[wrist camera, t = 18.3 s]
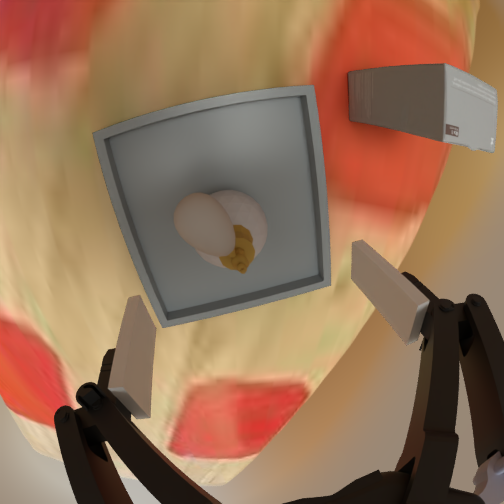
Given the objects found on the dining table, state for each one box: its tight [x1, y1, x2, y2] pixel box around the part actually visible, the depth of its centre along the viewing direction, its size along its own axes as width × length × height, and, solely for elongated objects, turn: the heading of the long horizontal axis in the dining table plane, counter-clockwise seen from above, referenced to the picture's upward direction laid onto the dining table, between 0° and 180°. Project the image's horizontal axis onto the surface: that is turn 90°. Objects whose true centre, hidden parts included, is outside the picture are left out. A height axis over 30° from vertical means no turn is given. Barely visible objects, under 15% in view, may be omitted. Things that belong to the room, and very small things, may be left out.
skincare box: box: [348, 63, 497, 153], centre depth 20 cm, size 8×7×16 cm
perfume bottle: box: [174, 190, 268, 274], centre depth 24 cm, size 8×10×12 cm
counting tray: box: [93, 85, 331, 328], centre depth 29 cm, size 24×22×2 cm
